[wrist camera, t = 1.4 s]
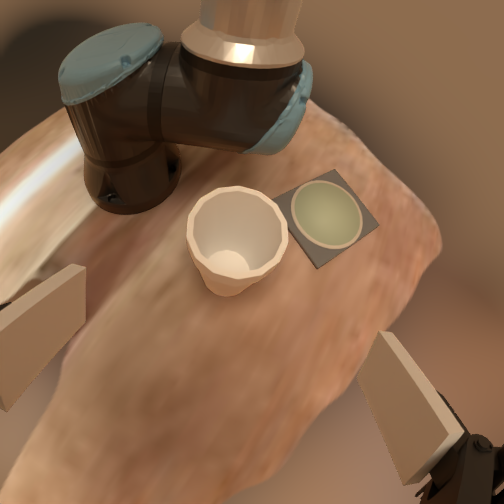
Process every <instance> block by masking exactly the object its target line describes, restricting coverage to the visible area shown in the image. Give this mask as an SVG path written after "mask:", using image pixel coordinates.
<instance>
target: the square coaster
mask: <svg viewBox="0 0 504 504" xmlns="http://www.w3.org/2000/svg"><path fill="white" fill-rule="evenodd" d="M272 201H273V202H275V203H276V204H277V205H278V207H279V209H280V211H281V212H282V214H283V216H284V218H285V219H286V221H287V228H288V230H289V231H290V233H291V234H292V236H293V237H294V238H295V240H296V241H297V242H298V244H299V245H300V247H301V248H302V249H303V251H304V252H305V253H306V255H307V256H308V258H309V259H310V260H311V262H312V263H313V265H314V266H315V267H316V269H318V268H320V267H321V266H323V265H324V264H325V263H327V262H328V261H330V260H331V259H333V258H334V257H336V256H337V255H338V254H340V253H341V252H343V251H344V250H346V249H347V248H349V247H350V246H351V245H353V244H354V243H356V242H357V241H358V240H360V239H361V238H363V237H364V236H365V235H367V234H368V233H370V232H371V231H372V230H374V229H375V228H377V227H378V226H379V224H378V222H377V221H376V220H375V218H374V217H373V216H372V214H371V213H370V212H369V210H368V209H367V208H366V207H365V205H364V204H363V203H362V202H361V200H360V199H359V198H358V196H357V195H356V194H355V193H354V192H353V190H352V189H351V188H350V187H349V185H348V184H347V183H346V182H345V181H344V179H343V178H342V177H341V176H340V175H339V173H338V172H337V171H336V170H335V169H334V170H332V171H329V172H327V173H325V174H323V175H321V176H319V177H317V178H315V179H313V180H311V181H309V182H307V183H304V184H302V185H300V186H298V187H296V188H294V189H292V190H290V191H288V192H286V193H284V194H282V195H280V196H278V197H276V198H274V199H272Z"/></svg>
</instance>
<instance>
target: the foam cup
mask: <svg viewBox="0 0 504 504" xmlns="http://www.w3.org/2000/svg"><path fill="white" fill-rule="evenodd" d="M186 241H187V248H188V250H189V253H190V255H191V257H192V260H193V262H194V264H195V266H196V267H197V268H198V269H199V271H200V274H201V276H202V278H203V280H204V283H205V285H206V287H207V288H208V289H209V290H211V291H212V292H213V293H214V294H216V295H220V296H224V297H229V296H235V295H238V294H239V293H240V292H242V291H243V290H245V289H246V288H247V287H249V286H250V285H251V284H253V283H257V282H258V281H260V280H261V279H262V278H264V277H265V276H266V275H268V274H269V273H270V272H272V271H273V270H274V269H275V267H276V266H277V265H278V263H279V262H280V260H281V258H282V255H283V253H284V251H285V249H286V247H287V245H288V228H287V221H286V219H285V218H284V216H283V214H282V212H281V211H280V209H279V207H278V205H277V204H276V203H275V202H273V201H272V200H271V199H269V198H268V197H267V196H265V195H264V194H263V193H261V192H260V191H257V190H253V189H249V188H246V187H242V186H232V187H223V188H217V189H215V190H214V191H212V192H210V193H208V194H207V195H205V196H203V197H201V198H200V199H199V200H198V202H197V203H196V205H195V206H194V208H193V209H192V211H191V212H190V214H189V215H188V222H187V233H186Z"/></svg>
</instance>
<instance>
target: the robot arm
mask: <svg viewBox="0 0 504 504" xmlns="http://www.w3.org/2000/svg"><path fill="white" fill-rule="evenodd" d="M302 2H303V0H201V6H200V16H199V19H198V20H197V21H196V22H194V23H193V24H192V25H190V26H189V27H187V28H186V29H185V30H184V31H183V32H182V35H181V42H164V35H163V34H162V32H161V30H160V29H159V28H158V27H157V26H155V25H153V26H152V25H151V24H149V23H131V24H125V25H121V26H117V27H114V28H111V29H108V30H105V31H103V32H100V33H98V34H96V35H94V36H92V37H90V38H89V39H87V40H85V41H84V42H83V43H81V44H80V45H78V46H77V47H76V48H75V49H73V50H72V51H71V52H70V53H69V55H68V56H67V57H66V58H65V59H64V61H63V62H62V64H61V66H60V69H59V73H58V80H59V85H60V89H61V93H62V101H63V103H64V105H65V108H66V110H67V113H68V115H69V118H70V120H71V123H72V125H73V128H74V130H75V133H76V135H77V137H78V140H79V142H80V144H81V147H82V149H83V151H84V181H85V185H86V188H87V190H88V192H89V194H90V196H91V198H92V199H93V201H94V202H95V203H96V204H97V205H98V206H100V207H101V208H102V209H104V210H106V211H109V212H112V213H116V214H135V213H139V212H143V211H146V210H148V209H151V208H153V207H155V206H156V205H158V204H159V203H161V202H162V201H163V200H165V199H166V198H167V197H168V196H169V195H170V194H171V193H172V191H173V190H174V188H175V187H176V185H177V183H178V181H179V178H180V174H181V157H180V152H179V149H178V147H177V145H176V144H184V145H192V146H200V147H207V148H213V149H220V150H226V151H233V152H237V153H239V154H248V153H252V154H262V155H273V154H276V153H278V152H280V151H281V150H283V149H284V148H285V147H286V146H287V145H288V143H289V142H290V141H291V139H292V138H293V136H294V135H295V133H296V131H297V129H298V127H299V125H300V123H301V121H302V118H303V116H304V113H305V110H306V102H307V100H308V99H309V97H310V93H311V89H312V82H313V72H312V68H311V65H310V64H309V63H308V62H306V61H305V60H304V59H303V57H304V53H305V49H304V46H303V45H302V43H301V42H300V40H299V39H298V37H297V36H296V35H295V33H294V29H295V26H296V22H297V19H298V15H299V12H300V9H301V5H302ZM85 322H86V267H84V266H80V265H77V264H73V263H72V264H70V265H69V266H67V267H65V268H64V269H62V270H61V271H59V272H57V273H56V274H54V275H53V276H51V277H50V278H48V279H47V280H45V281H44V282H42V283H40V284H39V285H37V286H36V287H34V288H33V289H31V290H30V291H28V292H27V293H26V294H24V295H23V296H21V297H20V298H18V299H17V300H15V301H14V302H9V303H6V304H3V305H0V408H1V409H2V410H4V411H5V412H8V411H9V409H10V408H11V407H12V405H13V404H14V403H15V402H16V401H17V399H18V398H19V397H20V396H21V394H22V393H23V392H24V391H25V390H26V388H27V387H28V386H29V385H30V384H31V383H32V381H33V380H34V379H35V378H36V377H37V375H38V374H39V373H40V372H41V371H42V370H43V368H44V367H45V366H46V365H47V364H48V363H49V361H50V360H51V359H52V358H53V357H54V356H55V355H56V354H57V353H58V352H59V350H60V349H61V348H62V347H63V346H64V345H65V344H66V343H67V342H68V340H69V339H70V338H71V337H72V336H73V335H74V334H75V333H76V332H77V331H78V330H79V329H80V328H81V326H82V325H83V324H84V323H85ZM356 379H357V381H358V383H359V385H360V387H361V389H362V392H363V394H364V396H365V398H366V400H367V402H368V405H369V407H370V409H371V412H372V414H373V416H374V418H375V421H376V423H377V425H378V427H379V430H380V432H381V434H382V437H383V439H384V441H385V443H386V446H387V448H388V450H389V453H390V455H391V458H392V460H393V462H394V465H395V467H396V469H397V472H398V474H399V477H400V479H401V482H402V484H403V486H405V485H410V484H414V483H419V482H420V481H421V480H422V479H423V478H424V477H425V476H426V475H427V474H428V473H430V475H431V477H432V479H431V480H430V481H429V482H428V483H427V484H426V485H425V486H424V487H423V488H421V490H419V491H418V492H417V493H416V495H415V497H418V496H419V495H420V494H421V493H422V492H424V493H423V496H422V497H421V501H420V504H504V489H503V490H502V491H501V492H500V493H499V494H497V495H496V494H495V490H496V489H497V488H498V487H499V486H500V485H501V484H502V483H503V482H504V444H503V446H502V447H493V445H492V443H491V442H490V441H489V440H488V439H487V438H486V437H484V436H482V435H479V434H472V435H470V433H469V432H468V430H467V429H466V427H465V426H464V424H463V423H462V421H461V420H460V419H459V417H458V416H457V414H456V413H454V410H453V409H452V407H451V406H449V405H450V404H449V403H448V402H447V400H446V399H445V398H444V396H443V395H441V394H440V393H439V392H438V391H437V390H435V389H434V387H433V386H432V385H431V383H430V382H429V380H428V379H427V378H426V377H425V375H424V374H423V372H422V371H421V370H420V368H419V367H418V366H417V364H416V363H415V362H414V360H413V359H412V358H411V356H410V355H409V354H408V353H407V351H406V350H405V348H404V347H403V346H402V345H401V343H400V342H399V341H398V339H397V338H396V337H395V336H394V334H393V333H391V332H384V331H378V334H377V336H376V338H375V340H374V342H373V345H372V347H371V349H370V351H369V353H368V355H367V358H366V360H365V362H364V364H363V366H362V368H361V370H360V372H359V374H358V376H357V378H356Z"/></svg>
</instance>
